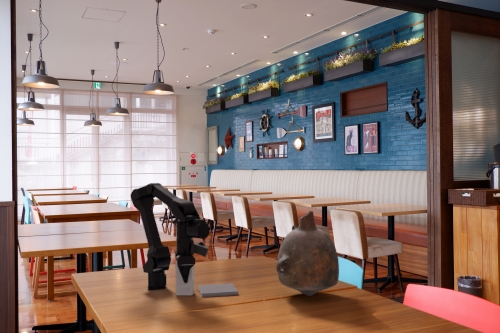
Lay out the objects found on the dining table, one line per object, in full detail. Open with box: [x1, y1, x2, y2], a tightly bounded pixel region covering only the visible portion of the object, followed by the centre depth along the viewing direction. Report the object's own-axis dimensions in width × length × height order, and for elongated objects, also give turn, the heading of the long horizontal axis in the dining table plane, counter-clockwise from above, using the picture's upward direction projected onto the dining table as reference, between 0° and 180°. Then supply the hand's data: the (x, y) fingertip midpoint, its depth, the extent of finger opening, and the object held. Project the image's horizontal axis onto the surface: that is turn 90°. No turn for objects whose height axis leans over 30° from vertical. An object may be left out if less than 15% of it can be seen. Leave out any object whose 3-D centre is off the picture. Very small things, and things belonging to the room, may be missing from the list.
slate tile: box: [198, 282, 239, 298], centre depth 181 cm, size 13×13×1 cm
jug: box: [275, 210, 340, 297], centre depth 173 cm, size 24×21×30 cm
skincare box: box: [174, 260, 195, 296], centre depth 177 cm, size 6×4×12 cm
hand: (184, 280), depth 177 cm, fingers open, 9 cm apart
